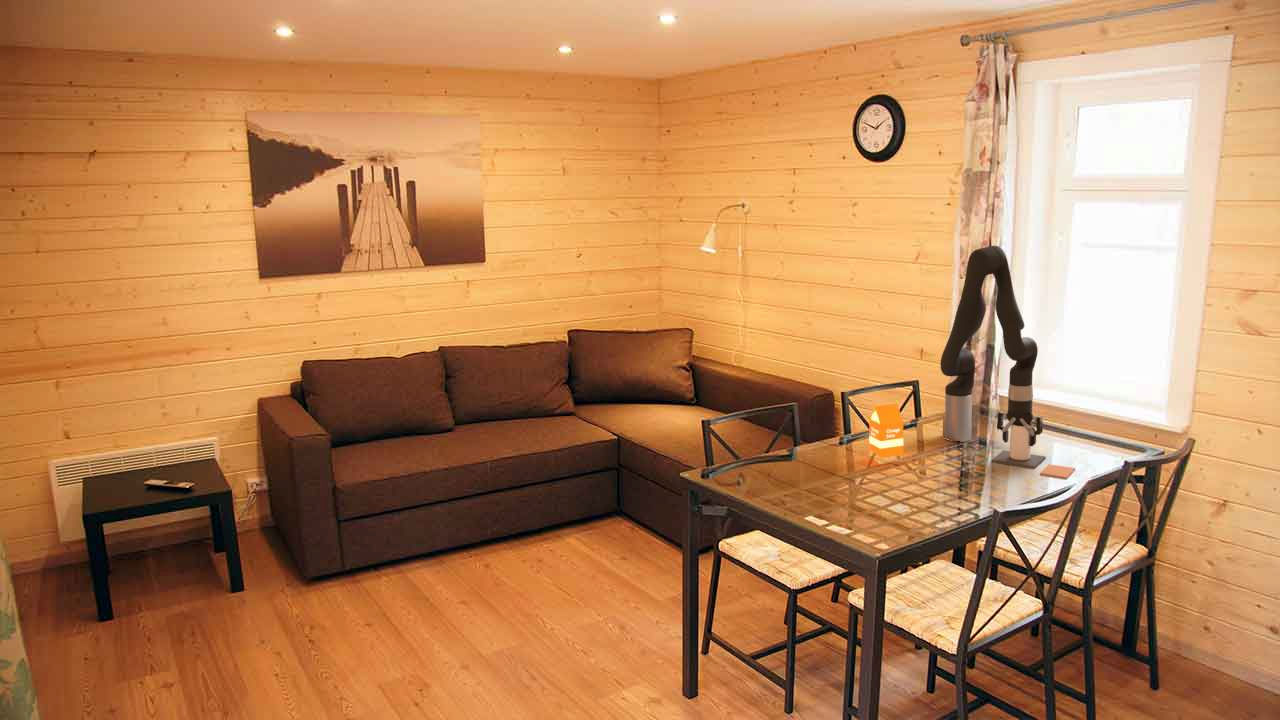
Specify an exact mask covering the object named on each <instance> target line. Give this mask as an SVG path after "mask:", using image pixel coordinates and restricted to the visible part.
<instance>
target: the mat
mask: <svg viewBox="0 0 1280 720" xmlns="http://www.w3.org/2000/svg"><path fill="white" fill-rule="evenodd" d="M1046 459H1047V457H1046V455H1045V456H1044V455H1037V454H1032V453H1030V459H1029V460H1025V461H1019V460H1014V459H1012V458H1011V457H1010V450H1001V452H999V453H998V454H997V455H996V456H994V457H993V458H992V459H991V461H992V462H991V463H994V462H997V463H996V464H1000V463H1002V464H1001V465H1007V466H1012V467H1013V466H1014V467H1021V468H1026V469H1027V468H1028V469H1031V470H1032V469H1033V470H1035V469H1036V468H1037V467H1038V466H1039V465H1041V464H1042V463H1043V462H1044V461H1045V460H1046Z"/></svg>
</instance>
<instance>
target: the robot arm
mask: <svg viewBox="0 0 1280 720" xmlns="http://www.w3.org/2000/svg"><path fill="white" fill-rule="evenodd" d="M965 271H966V272H965V279H964V282H963V287H962V290H961V291H962V292H961V295H960V299H959V302H958V305H957V308H956V309H957V310H956V313H955V316H954V321H953V324H952V328H951V331H950V334H949V337H948V340H947V342H946V345H945V347H944V350H943V351H942V354H941V358H940V370H941V372H942V374H943V375H944V376H946V377H956V378H955V379H954V380H953V381H951V382H949V383H947V385H946V386H945V387H944V389H945V390H944V394H945V396H944V398H945V399H944V401H945V402H944V413H943V414H942V438H943V437H944V438H947V439H949V440H952V441H951V442H953V441H960V442H959V443H965V442H969V441H971V440H972V422H973V421H972V415H973V413H972V412H973V410H972V409H973V401H972V400H973V389H974V385H975V371H976V361H975V360H976V359H975V356H974V353H973V352H972V351H971V350H969V349H963V347H965V345H966V344H967V342H968V341H970V339H971V338H972V337H973V336H974V335H975V334H976V333H978V331H979V329H981V327H982V324H983V322H984V318H985V316H986V315H985V314H986V311H987V306H986V301H985V298H984V296H983V293H982V289H983V286H984V281H985V279H986V277H987V276H989V275H993V277H994V279H995V283H996V288H997V289H996V299H995V312H996V316H997V319H998V322H999V325H1000V326H1001V330H1002V339H1003V346H1004V347H1003V348H1004V351H1005V353H1006V355H1007V356H1008V358H1009V359H1011V360H1012V361H1014V362H1015V364H1014V366H1012V367H1010V369H1009V384H1008V391H1007V392H1008V393H1007V395H1008V397H1007V404H1008V405H1007V412H1004V410H1001V411H999V412H998V413H997V421H996V429H997V430H1000V431H1001V432H1002V436H1001V437H1002V441H1003V442H1004V443H1005V444H1006V443H1008V442H1009V429H1011V426H1012V425H1013V424H1014V425H1017V426H1025V428H1026V429H1027V430H1028V431H1029V432H1030V434H1031V436H1030V446H1031V447H1034V446H1035V445H1036V443H1037V436H1038V435H1039V436H1040V435H1042V433H1043V429H1044V428H1043V416H1042V415H1037V416H1036V415H1033V398H1034V393H1033V392H1034V389H1033V371H1034V368H1035V366H1036V362H1037V357H1038V351H1039V350H1038V344H1037V342H1036V340H1034V339H1033V337H1029V336H1024V337H1022V333H1021V332H1022V330H1023V329H1024V328H1025V322H1024V319H1023V317H1022V316H1023V315H1022V314H1021V312H1020V309H1019V305H1018V303H1017V300H1016V296H1015V291H1014V286H1013V281H1012V276H1011V271H1010V266H1009V262H1008V257H1007V254H1006V252H1005V251H1004V249H1003V248H1002V247H1001V246H998V245H989V246H985V247H982V248H980V247H979V248H977V249H974V250H973V251H972V252H971V253H970V254H969V257H968V260H967V265H966V269H965ZM1005 418H1007V420H1008V422H1007V424H1006V425H1005V426H1004V419H1005ZM1032 421H1034V423H1035V424H1036V428H1035V427H1034V424H1033V423H1032ZM1029 425H1030V426H1029ZM949 440H948V441H949Z"/></svg>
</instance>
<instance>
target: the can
mask: <svg viewBox="0 0 1280 720" xmlns="http://www.w3.org/2000/svg"><path fill="white" fill-rule="evenodd" d="M1029 426H1030V425H1029ZM1009 436H1010V437H1009V438H1010V440H1009V451H1010V457H1011V458H1012V459H1014V460H1019V461H1025V460H1029V459H1030V454H1032V453H1031V450H1032V449H1031V448H1032V446H1030V436H1031V434H1030V432H1029V431H1028V430H1027V429H1026V428H1025V426H1017V425H1014V424H1013V425H1012V426H1011V427H1010V435H1009Z"/></svg>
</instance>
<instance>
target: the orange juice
mask: <svg viewBox="0 0 1280 720" xmlns="http://www.w3.org/2000/svg"><path fill="white" fill-rule="evenodd" d="M868 440H869V452H870V451H872V452H873V453H875V454H876V455H878V456H879V457H880V458H881V457H890V456H903V457H904V420H903V417H902V415H901V411H900V408H899V403H891V404H884V405H883V404H882V405H875V406H874V408H873V409H872V412H871V414H870V417H869V439H868Z"/></svg>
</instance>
